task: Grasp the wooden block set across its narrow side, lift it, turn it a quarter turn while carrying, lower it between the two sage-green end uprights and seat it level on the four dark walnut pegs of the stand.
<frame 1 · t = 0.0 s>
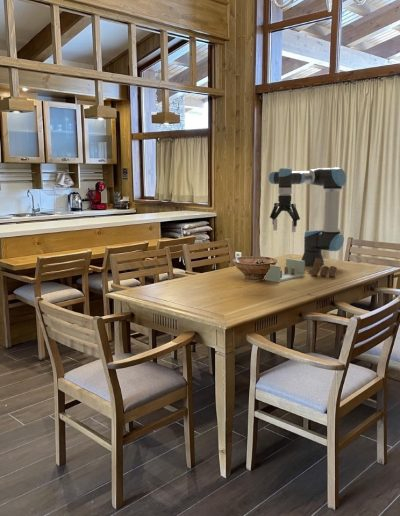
hand: (284, 231, 290), 28 cm above the table, fingers open, 13 cm apart
peg stand: (283, 277, 295), on the table
wooden block set: (319, 276, 298), on the table
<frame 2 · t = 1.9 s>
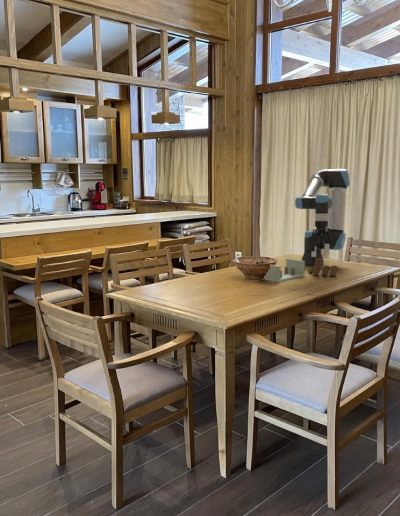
hand: (320, 255, 295), 12 cm above the table, fingers open, 13 cm apart
wooden block set: (320, 275, 299), on the table
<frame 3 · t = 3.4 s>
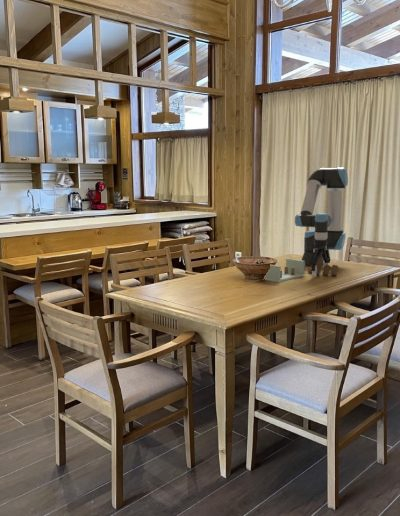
hand: (319, 274, 298), 1 cm above the table, fingers open, 11 cm apart
wooden block set: (321, 275, 300), on the table, touching gripper
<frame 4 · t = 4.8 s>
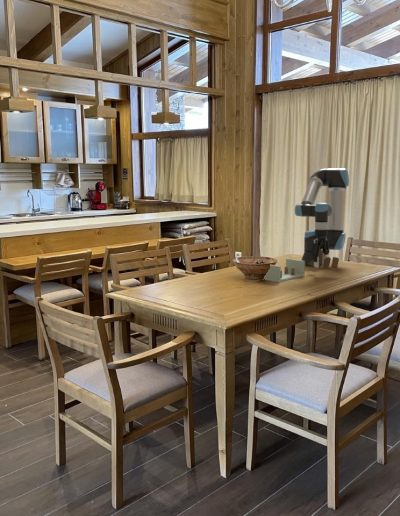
hand: (320, 266, 298), 6 cm above the table, fingers closed on wooden block set, 8 cm apart
wooden block set: (322, 267, 299), point 5 cm above the table, touching gripper
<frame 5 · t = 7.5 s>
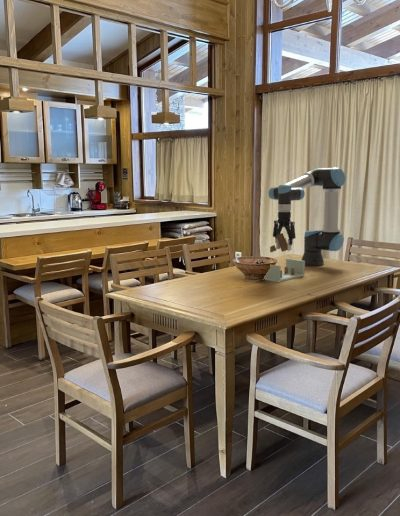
hand: (283, 249, 292), 17 cm above the table, fingers closed on wooden block set, 8 cm apart
wooden block set: (281, 251, 293), point 16 cm above the table, touching gripper
when the fingers open (6 cm above the table, at t = 10.2 s): wooden block set stays where it is, resting on peg stand.
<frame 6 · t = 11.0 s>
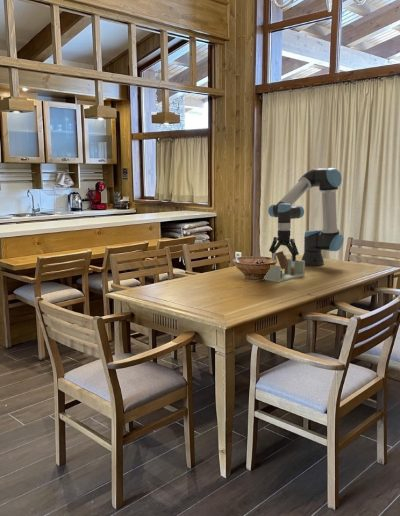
hand: (283, 265, 293), 8 cm above the table, fingers open, 13 cm apart
wooden block set: (281, 268, 295), point 5 cm above the table, touching peg stand
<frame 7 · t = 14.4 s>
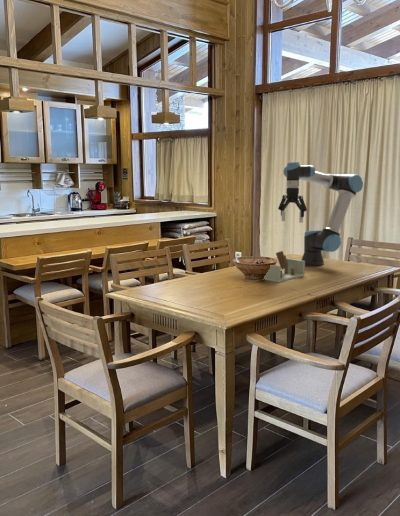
hand: (292, 221, 306), 32 cm above the table, fingers open, 13 cm apart
nothing on the table moved.
at the end: wooden block set 1.6 cm from the peg stand (horizontally); wooden block set touching peg stand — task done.
